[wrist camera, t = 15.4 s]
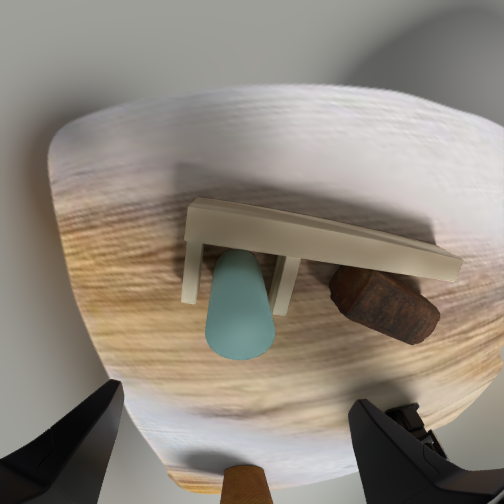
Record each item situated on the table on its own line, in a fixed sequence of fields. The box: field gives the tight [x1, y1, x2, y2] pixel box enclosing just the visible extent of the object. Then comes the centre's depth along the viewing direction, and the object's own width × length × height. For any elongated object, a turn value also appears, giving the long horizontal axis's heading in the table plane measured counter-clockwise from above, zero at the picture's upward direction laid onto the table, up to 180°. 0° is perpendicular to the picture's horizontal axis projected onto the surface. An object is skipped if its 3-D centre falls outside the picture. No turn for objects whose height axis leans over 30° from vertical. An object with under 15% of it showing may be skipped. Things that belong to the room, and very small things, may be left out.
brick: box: [329, 265, 440, 345], centre depth 20 cm, size 11×4×5 cm, turn 62°
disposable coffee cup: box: [220, 465, 273, 504], centre depth 27 cm, size 10×10×12 cm
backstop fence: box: [181, 197, 463, 316], centre depth 19 cm, size 7×22×4 cm, turn 79°
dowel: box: [205, 249, 275, 360], centre depth 17 cm, size 4×4×8 cm
